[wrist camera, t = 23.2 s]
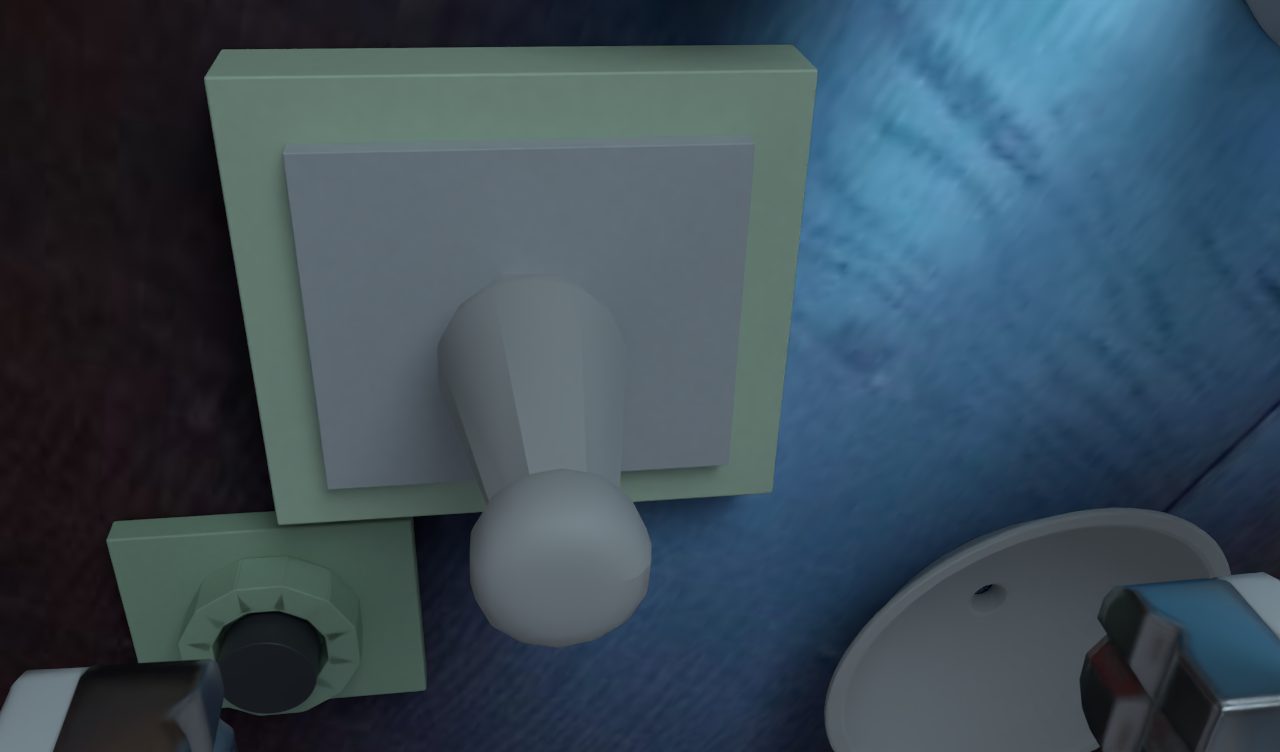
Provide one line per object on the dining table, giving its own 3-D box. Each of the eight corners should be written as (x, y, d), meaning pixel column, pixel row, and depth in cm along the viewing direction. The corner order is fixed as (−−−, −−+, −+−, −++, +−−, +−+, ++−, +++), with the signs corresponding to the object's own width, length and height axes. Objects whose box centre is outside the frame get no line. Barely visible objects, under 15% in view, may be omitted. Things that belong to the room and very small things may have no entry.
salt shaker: (562, 428, 39) (609, 717, 28) (407, 365, 37) (392, 651, 26) (648, 290, 37) (737, 545, 26) (489, 215, 35) (511, 458, 24)
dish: (866, 757, 56) (901, 844, 52) (736, 574, 49) (764, 658, 45) (1201, 591, 54) (1267, 668, 49) (1117, 372, 46) (1185, 441, 42)
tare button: (315, 606, 43) (310, 639, 42) (325, 676, 45) (321, 709, 44) (215, 614, 43) (207, 647, 41) (230, 684, 44) (223, 718, 43)
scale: (793, 43, 37) (826, 77, 34) (754, 449, 46) (777, 506, 42) (220, 48, 35) (197, 85, 32) (287, 476, 43) (274, 540, 40)
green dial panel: (411, 501, 44) (409, 550, 42) (426, 670, 49) (426, 724, 47) (113, 520, 43) (92, 572, 40) (157, 693, 48) (141, 749, 45)
